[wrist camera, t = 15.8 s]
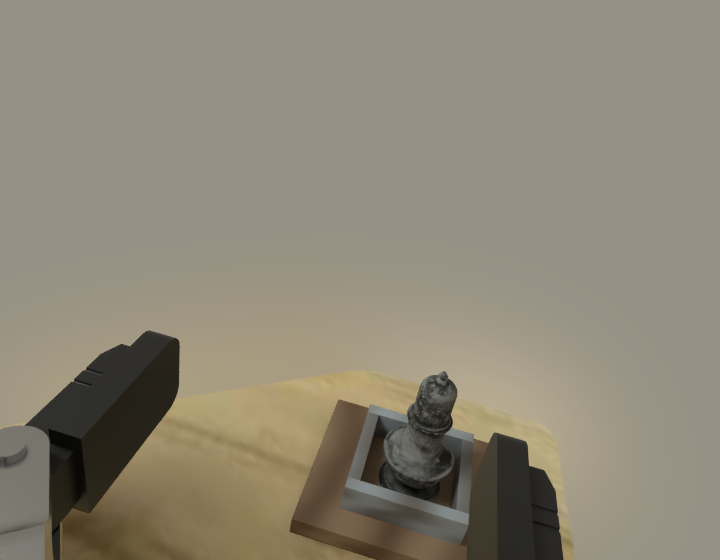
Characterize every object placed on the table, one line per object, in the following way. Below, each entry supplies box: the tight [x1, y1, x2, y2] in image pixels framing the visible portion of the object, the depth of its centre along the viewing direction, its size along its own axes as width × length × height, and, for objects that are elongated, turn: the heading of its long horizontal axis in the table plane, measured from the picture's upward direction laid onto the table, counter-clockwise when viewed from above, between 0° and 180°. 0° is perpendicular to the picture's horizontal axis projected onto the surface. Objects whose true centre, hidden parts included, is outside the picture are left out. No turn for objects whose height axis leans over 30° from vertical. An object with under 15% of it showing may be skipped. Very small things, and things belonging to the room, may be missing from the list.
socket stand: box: [290, 400, 489, 560], centre depth 46 cm, size 16×14×4 cm
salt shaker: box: [379, 372, 457, 502], centre depth 44 cm, size 6×6×12 cm
